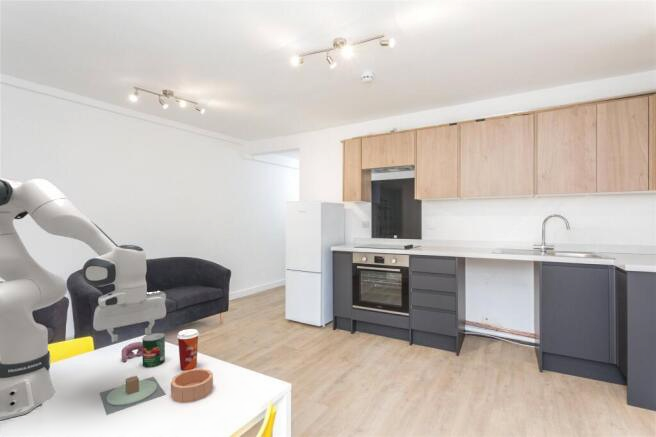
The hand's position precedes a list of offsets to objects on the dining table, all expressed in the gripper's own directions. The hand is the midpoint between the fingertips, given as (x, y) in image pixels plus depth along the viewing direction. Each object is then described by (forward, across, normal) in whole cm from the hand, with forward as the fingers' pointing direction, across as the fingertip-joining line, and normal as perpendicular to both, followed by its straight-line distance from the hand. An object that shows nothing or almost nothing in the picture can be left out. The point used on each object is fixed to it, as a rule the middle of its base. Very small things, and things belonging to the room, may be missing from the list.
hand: (131, 337), depth 105 cm
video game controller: (+19, -7, -32) cm, 38 cm away
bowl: (+19, -15, +12) cm, 27 cm away
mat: (+19, 0, 0) cm, 19 cm away
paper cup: (+19, -20, -7) cm, 29 cm away
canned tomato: (+19, -11, -20) cm, 30 cm away
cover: (+18, 0, 0) cm, 18 cm away
